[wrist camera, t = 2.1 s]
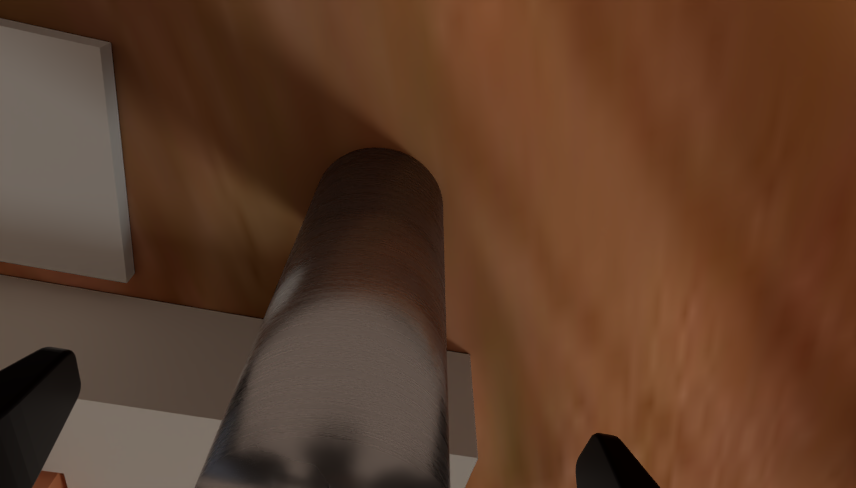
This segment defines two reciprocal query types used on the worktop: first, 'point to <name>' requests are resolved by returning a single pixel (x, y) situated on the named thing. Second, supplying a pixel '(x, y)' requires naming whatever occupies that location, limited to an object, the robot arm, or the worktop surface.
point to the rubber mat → (61, 155)
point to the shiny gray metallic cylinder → (349, 344)
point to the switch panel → (159, 383)
